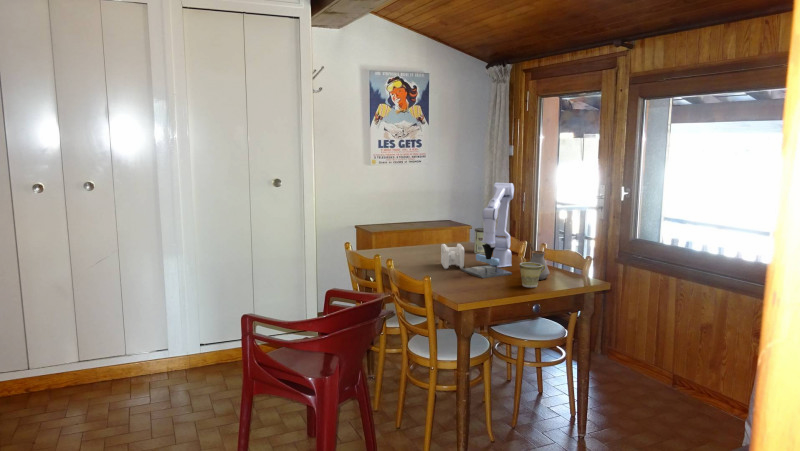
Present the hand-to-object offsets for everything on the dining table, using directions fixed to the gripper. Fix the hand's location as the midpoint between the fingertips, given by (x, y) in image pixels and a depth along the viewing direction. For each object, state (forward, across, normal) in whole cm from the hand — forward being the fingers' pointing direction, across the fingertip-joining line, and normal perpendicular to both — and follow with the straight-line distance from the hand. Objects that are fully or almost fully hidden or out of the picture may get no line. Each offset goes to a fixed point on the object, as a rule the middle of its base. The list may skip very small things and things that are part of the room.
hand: (488, 259), depth 279 cm
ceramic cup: (+8, +25, +14) cm, 29 cm away
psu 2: (+7, +2, -6) cm, 9 cm away
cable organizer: (+8, -16, -15) cm, 23 cm away
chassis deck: (+7, -2, 0) cm, 8 cm away
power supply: (+7, 0, 0) cm, 7 cm away
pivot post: (+7, -2, +4) cm, 9 cm away
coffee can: (+8, -52, +12) cm, 54 cm away
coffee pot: (+8, +6, +22) cm, 24 cm away
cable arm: (+3, -7, +2) cm, 8 cm away
